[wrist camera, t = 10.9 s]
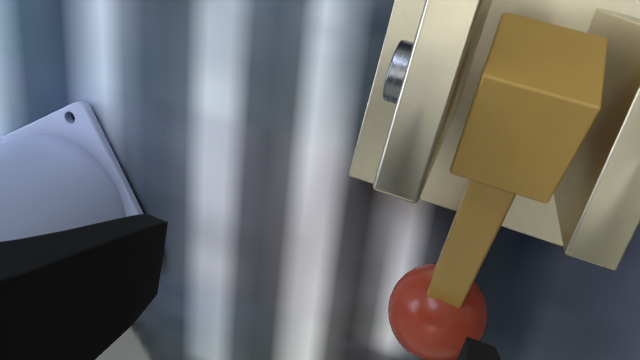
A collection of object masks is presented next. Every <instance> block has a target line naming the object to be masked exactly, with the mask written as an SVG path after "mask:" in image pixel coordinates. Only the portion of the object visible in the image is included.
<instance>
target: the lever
mask: <svg viewBox="0 0 640 360" xmlns="http://www.w3.org/2000/svg"><path fill="white" fill-rule="evenodd" d="M607 46H608V39H607V38H605V37H601V36H597V35H593V34H589V33H585V32H582V31H578V30H574V29H570V28H566V27H562V26H558V25H554V24H550V23H547V22H543V21H539V20H535V19H531V18H527V17H523V16H519V15H515V14H512V13H508V12H504V13H503V14H502V16H501V19H500V22H499V25H498V28H497V31H496V34H495V36H494V39H493V42H492V45H491V48H490V51H489V54H488V57H487V60H486V63H485V66H484V69H483V72H482V75H481V78H480V81H479V84H478V87H477V90H476V92H475V95H474V98H473V101H472V104H471V107H470V110H469V113H468V116H467V119H466V122H465V125H464V128H463V131H462V134H461V137H460V140H459V143H458V146H457V149H456V152H455V155H454V158H453V161H452V164H451V167H450V173H451V174H454V175H457V176H460V177H464V178H467V179H469V181H468V183H467V186H466V188H465V191H464V194H463V196H462V199H461V201H460V204H459V207H458V209H457V212H456V215H455V217H454V220H453V222H452V225H451V228H450V230H449V233H448V235H447V238H446V241H445V243H444V246H443V248H442V251H441V254H440V256H439V259H438V261H437V263H430V264H424V265H421V266H418V267H416V268H414V269H412V270H410V271H409V272H407V273H406V274H405V275H404V276H403V277H402V278H401V279H400V280H399V281H398V282H397V284H396V285H395V287H394V289H393V291H392V294H391V297H390V300H389V308H388V313H389V321H390V325H391V328H392V331H393V333H394V335H395V337H396V338H397V340H398V341H399V343H400V344H401V345H402V346H403V347H404V348H405V349H406V350H407V351H408V352H410V353H411V354H412V355H414V356H416V357H418V358H420V359H423V360H457V359H458V356H459V354H460V351H461V349H462V346H463V344H464V342H465V339H466V337H470V338H473V339H475V340H478V341H480V340H481V338H482V336H483V334H484V332H485V328H486V324H487V306H486V302H485V299H484V296H483V293H482V291H481V290H480V288H479V286H478V285H477V284H476V282H475V281H474V280H475V278H476V276H477V274H478V272H479V270H480V267H481V265H482V263H483V261H484V259H485V257H486V255H487V253H488V251H489V249H490V247H491V245H492V243H493V241H494V239H495V237H496V235H497V233H498V231H499V229H500V227H501V225H502V223H503V221H504V219H505V217H506V215H507V213H508V211H509V209H510V207H511V204H512V202H513V200H514V198H515V196H516V194H517V195H520V196H523V197H526V198H530V199H533V200H536V201H539V202H542V203H548V202H549V200H550V198H551V197H552V195H553V193H554V191H555V190H556V188H557V186H558V184H559V183H560V181H561V179H562V177H563V175H564V174H565V172H566V170H567V168H568V167H569V165H570V163H571V161H572V160H573V158H574V156H575V154H576V152H577V151H578V149H579V147H580V145H581V144H582V142H583V140H584V138H585V137H586V135H587V133H588V131H589V129H590V128H591V126H592V124H593V122H594V121H595V119H596V117H597V115H598V114H599V112H600V110H601V104H602V95H603V85H604V75H605V65H606V56H607Z"/></svg>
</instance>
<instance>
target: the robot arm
mask: <svg viewBox="0 0 640 360" xmlns="http://www.w3.org/2000/svg"><path fill="white" fill-rule="evenodd" d="M71 113H73V115H74V117H75V121H74V120H73V119H72V117H71ZM167 224H168V222H166V221H163V220H161V219H158V218H155V217H153V216H150V215H147V214H144V213H143V211H142V209H141V207H140V205H139V203H138V201H137V199H136V197H135V195H134V193H133V191H132V189H131V187H130V185H129V183H128V181H127V179H126V177H125V175H124V173H123V171H122V169H121V167H120V165H119V163H118V161H117V159H116V157H115V155H114V152H113V150H112V148H111V146H110V144H109V142H108V140H107V138H106V136H105V134H104V132H103V130H102V128H101V126H100V124H99V122H98V120H97V118H96V116H95V114H94V112H93V110H92V108H91V107H90V105H89V104H88V103H86V102H84V101H78V102H75V103H72V104H70V105H68V106H66V107H64V108H62V109H60V110H57V111H55V112H53V113H51V114H49V115H47V116H45V117H43V118H41V119H39V120H37V121H35V122H33V123H30V124H28V125H26V126H24V127H22V128H20V129H18V130H16V131H14V132H12V133H10V134H8V135H6V136H3V137H1V138H0V360H95V359H96V358H97V357H98V356H99V355H100V354H101V353H102V352H103V351H105V350H106V349H107V348H108V347H109V346H110V345H111V344H112V343H113V342H114V341H115V340H117V339H118V338H119V337H120V336H121V335H122V334H123V333H124V332H125V331H126V330H127V329H128V328H129V327H130V326H131V325H132V324H133V323H134V322H135V321H136V320H137V318H138V317H139V316H140V315H141V314H142V312H143V311H144V310H145V309H146V307H147V306H148V305H149V304H150V302H151V301H152V300H153V299H154V297H155V296H156V295H157V292H158V285H159V278H160V272H161V265H162V259H163V251H164V245H165V238H166V231H167ZM457 360H500V357H499V354H498V352H497V350H496V348H495V347H494V346H491V345H488V344H486V343H483V342H480V341H478V340H475V339H473V338H470V337H466V339H465V342H464V344H463V346H462V349H461V351H460V354H459V356H458V359H457Z"/></svg>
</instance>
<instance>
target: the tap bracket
mask: <svg viewBox="0 0 640 360" xmlns="http://www.w3.org/2000/svg"><path fill="white" fill-rule="evenodd" d="M504 12H508V13H512V14H515V15H519V16H523V17H527V18H531V19H535V20H539V21H543V22H547V23H550V24H554V25H558V26H562V27H566V28H570V29H574V30H578V31H582V32H585V33H589V34H593V35H597V36H601V37H605V38H607V39H608V46H607V56H606V65H605V75H604V85H603V95H602V104H601V110H600V112H599V114H598V115H597V117H596V119H595V121H594V122H593V124H592V126H591V128H590V129H589V131H588V133H587V135H586V137H585V138H584V140H583V142H582V144H581V145H580V147H579V149H578V151H577V152H576V154H575V156H574V158H573V160H572V161H571V163H570V165H569V167H568V168H567V170H566V172H565V174H564V175H563V177H562V179H561V181H560V183H559V184H558V186H557V188H556V190H555V191H554V193H553V195H552V197H551V198H550V200H549V202H548V203H542V202H539V201H536V200H533V199H530V198H526V197H523V196H520V195H517V194H516V196H515V198H514V200H513V202H512V204H511V207H510V209H509V211H508V213H507V215H506V217H505V219H504V221H503V223H502V225H501V226H502V227H505V228H508V229H511V230H514V231H517V232H520V233H523V234H526V235H529V236H532V237H535V238H539V239H542V240H545V241H548V242H551V243H554V244H557V245H560V246H563V247H564V252H565V254H566V255H569V256H572V257H575V258H578V259H581V260H584V261H587V262H590V263H593V264H596V265H599V266H602V267H605V268H608V269H611V270H614V271H616V270H617V268H618V266H619V264H620V262H621V260H622V258H623V256H624V254H625V252H626V250H627V248H628V246H629V244H630V242H631V240H632V238H633V236H634V234H635V232H636V230H637V228H638V226H639V224H640V0H395V2H394V5H393V9H392V13H391V17H390V21H389V24H388V28H387V32H386V36H385V39H384V43H383V47H382V51H381V55H380V58H379V62H378V66H377V70H376V73H375V77H374V81H373V85H372V89H371V92H370V96H369V100H368V104H367V107H366V111H365V115H364V119H363V123H362V126H361V130H360V134H359V138H358V141H357V145H356V149H355V153H354V157H353V160H352V164H351V168H350V172H349V176H351V177H354V178H357V179H360V180H363V181H366V182H369V183H372V184H373V189H374V190H376V191H379V192H382V193H385V194H388V195H391V196H394V197H397V198H400V199H403V200H406V201H409V202H412V203H417V202H418V201H419V199H421V200H424V201H427V202H430V203H433V204H436V205H439V206H442V207H445V208H448V209H451V210H454V211H457V209H458V207H459V204H460V201H461V199H462V196H463V194H464V191H465V188H466V186H467V183H468V181H469V179H467V178H464V177H460V176H457V175H454V174H451V173H450V167H451V164H452V161H453V158H454V155H455V152H456V149H457V146H458V143H459V140H460V137H461V134H462V131H463V128H464V125H465V122H466V119H467V116H468V113H469V110H470V107H471V104H472V101H473V98H474V95H475V92H476V90H477V87H478V84H479V81H480V78H481V75H482V72H483V69H484V66H485V63H486V60H487V57H488V54H489V51H490V48H491V45H492V42H493V39H494V36H495V34H496V31H497V28H498V25H499V22H500V19H501V16H502V14H503V13H504Z"/></svg>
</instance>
